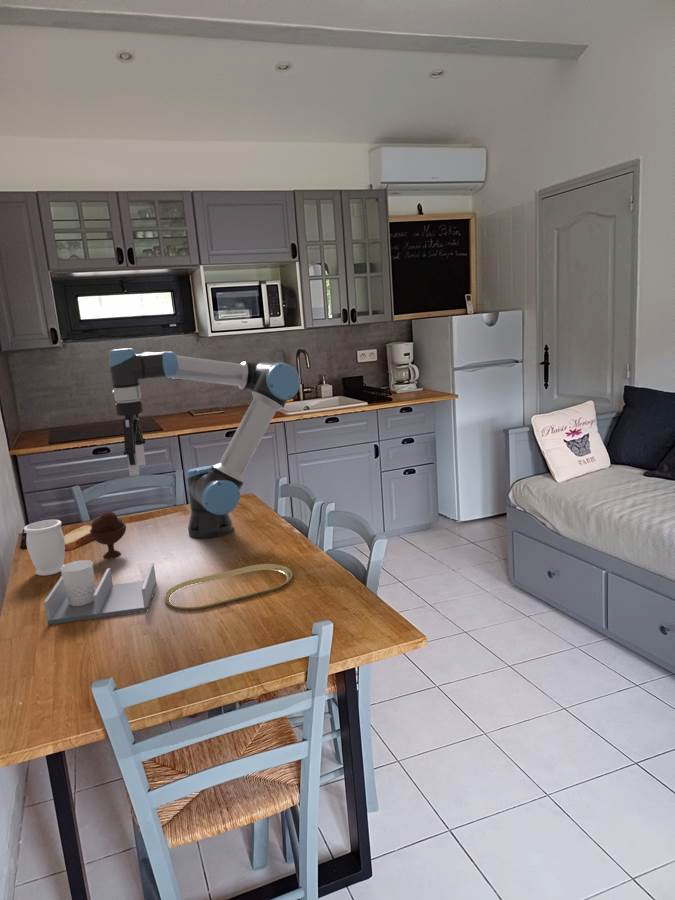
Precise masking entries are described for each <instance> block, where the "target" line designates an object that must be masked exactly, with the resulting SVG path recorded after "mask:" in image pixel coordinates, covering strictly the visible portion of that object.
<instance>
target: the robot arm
mask: <svg viewBox="0 0 675 900" xmlns="http://www.w3.org/2000/svg"><path fill="white" fill-rule="evenodd" d="M108 362H109V364H108V366H109V369H110V377H111V383H112V388H113V389H112V390H111V394H112V395H114V401H115V404H114V405H115V411H116V415H118V416H121V417H123V416H124V420H123V419H122V425H123V441H124V451H123V455H125V456H126V458H127V459H126V460H127V466H128V467H127V468H128V474H129V477H133V476H139V475H140V467H139V466H145V465H147V463H146V456H145V448H144V444H146V439H145V440H144V436H143V432H142V428H141V422H140V419H139V414H142V413H143V411H144V410H143V402H142V400H140V399H142V394H141V393H142V392H141V386H140V380H147V379H158V378H170V379H177V380H183V381H184V380H186V381H192V382H193V381H194V382H203V383H210V384H218V385H219V384H220V385H227V386H235V387H238V388H239V390H245V391H250V392H251V394H252V398H253V399H252V401H251V402H250V404H249V405H248V408H247V410H246V412H245V413H244V415H243V417H242V419H241V421H240V423H239V425H238V426H237V428H236V431H235V432H234V434H233V436H232V438H231V440H230V442H229V443H228V446H227V447H226V449H225V451H224V453H223V455H222V456H221V459H220V460H219V462H218V463H215V464H212V465H205V466H199V467H195V468H191V469H188V470H187V472H186V482H187V487H188V497H189V505H190V517H189V522H188V526H187V529H188V530H187V531H188V536H190V537H192V538H195V539H211V538H217V537H221V536H223V535H226V534H229V533H230V532H232V530H233V521H232V519H231V517H230V515H229V513H231V512H233V511H234V510H235V509H236V508H237V506H238V505H239V503H240V500H241V492H240V490H241V488H242V486H243V485H244V482H245V481H244V477H243V476H244V473H245V471H246V469H247V467H248V465H249V463H250V461H251V460H252V457H253V456H254V454H255V452H256V450H257V449H258V446H259V445H260V443H261V441H262V439H263V436H264V435H265V434H266V431H267V430H268V427H269V426H270V425H271V422H272V420H273V418H274V417H275V414H276V412H278V411H280V410H283V409H284V408H285V405H286V404H287V402H288V400H290V399H292V398H293V397H295V396H296V394H297V393H298V392H299V390H300V386H301V380H300V379H301V378H300V376H299V372H298V370H297V369H296V368H295V367H294V366H292V365H291V364H288V363H286V362H282V361H278V362H276V361H259V362H258V361H255V362H254V361H253V362H252V361H242V362H240V363H239V362H238V363H236V362H229V361H221V360H213V359H208V358H198V357H193V356H192V357H191V356H184V355H177V354H176V353H175V352H174V351H159V352H156V351H147V350H146V351H143V352H141V353H138V354H137V353H136V351H135V349H134V348H131V347H130V348H126V347H125V348H118V349H116V348H115V349H111V350H109V352H108Z"/></svg>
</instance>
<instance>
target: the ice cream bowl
mask: <svg viewBox="0 0 675 900" xmlns="http://www.w3.org/2000/svg"><path fill="white" fill-rule="evenodd" d="M126 530H127V525H126V524H125V522H123V520H122V519H120V518H118V516H117V514H116V513H115V512H113V511H104V512H102V514H100V515H99V516H97V517H96V518H95V519H94V520H93V521H92V522H91V530H90V533H91V535H92V537H93V538H94V540H95V541H96V542H97V543H99V544H101V545H107V549H108V551H107V552H105V553H104V554H103V556H102V557H103V559H106V560H111V559H115V558H118V557H120V556H121V555H122V553H121V552H120V551H119V550H115V547H114V546H115V543H117V542H118V541H120V540H121V539H122V537H124V535H125V534H126Z"/></svg>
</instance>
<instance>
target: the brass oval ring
mask: <svg viewBox="0 0 675 900" xmlns="http://www.w3.org/2000/svg"><path fill="white" fill-rule="evenodd" d="M255 571H275V572H280V573H282V574H284V575H285V576H286V580H285V582H283V583H281V584H279V585H277V586H274V587H271V588H268V589H264V590H260V591H256V592H252V593H248V594H244V595H239V596H236V597H232V598H229V599H228V598H227V599H224V600H219V601H216V602H212V603H207V604H204V605H198V606H179V605H175V604H173V603H172V604H173V605H172V604H171V603H170V602H169V597H170V595H171V594H172V593H173V592H175V591H176V590H178V589H179V588H182V587H184V586H187V585H190V584H195V583H199V582H205V581H209V582H211V581H210V580H213V581H216V580H215V579H218V580H222V579H226V578H230V577H234V576H238V574H239V575H242V573H243V574H247V573H251V572H255ZM221 578H222V579H221ZM292 578H293V571H292V569H290V568H289V567H287V566H285V565H282V564H276V563H260V564H254V565H248V566H244V567H239V568H234V569H231V570H227V571H222V572H218V573H214V574H209V575H205V576H201V577H197V578H196V577H195V578H192V579H188V580H185V581H182V582H180V583H178V584H176V585H174V586H172V587H171V588H169V589H168V590H167V591H166V593H165V595H164V601H165V603H166V604H168V605H169V606H170V607H172V608H174V609H177V608H178V609H177V610H182V609H197V610H202V609H201V608H204V609H207V608H206V607H208V608H211V606H212V607H215V605H216V606H219V604H220V605H223V603H224V604H227V602H228V603H232V602H235V601H239V599H240V600H243V598H244V599H247V597H248V598H251V596H252V597H256V596H259V595H264V594H267V593H270V592H274V591H276V590H279V589H281V588H283V587H284V586H286V585H287V584H288V583H289V582H290V581H291V579H292ZM205 583H206V582H205ZM255 595H256V596H255ZM231 601H232V602H231Z"/></svg>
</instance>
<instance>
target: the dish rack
mask: <svg viewBox="0 0 675 900" xmlns="http://www.w3.org/2000/svg"><path fill="white" fill-rule="evenodd" d="M146 572H147V573H146V575H145V578H144V580H140V581H132V582H131V581H130V582H124V583H116V584H114V583H113V578H112V573H111V568H110V567H109V568H106V569H105V572H104V574H103V576H102V578H101V580H100V582H99V584H98V585H97V586H95V593H94V595H93V597H94V601H93V602H91V603H89V604H87V605H83V606H71V605H69V602H68V597H67V595H66V591H65V587H64V583H63V578H62V575H61V576H60V578H59V579H58V580H57V582H56V583H55V585H54V586H53V588H52V590H51V591H50V592H49V594H48V595H47V597H46V598H45V600H44V601H43V605H44V611H45V615H46V616H45V617H46V620H47V621H46V622H47V625H48V626H49V625H57V624H65V623H72V622H79V621H87V620H95V619H102V618H108V617H107V616H110V617H116V616H115V615H117V616H123V615H122V614H125V615H129V613H132V614H135V613H134V612H139V613H141V612H140V611H147V610H148V609H150V607H149V605H150V606H151V603H152V600H153V597H152V595H153V596H154V593H155V590H156V586H157V577H156V570H155V563H154V562H150V564H149V567H148V569H147V571H146ZM154 589H155V590H154ZM153 592H154V593H153ZM151 599H152V600H151ZM150 602H151V603H150ZM148 611H149V610H148ZM148 611H147V612H148Z"/></svg>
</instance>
